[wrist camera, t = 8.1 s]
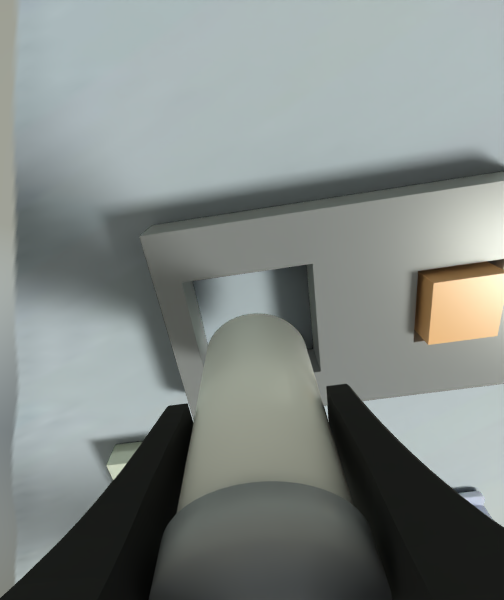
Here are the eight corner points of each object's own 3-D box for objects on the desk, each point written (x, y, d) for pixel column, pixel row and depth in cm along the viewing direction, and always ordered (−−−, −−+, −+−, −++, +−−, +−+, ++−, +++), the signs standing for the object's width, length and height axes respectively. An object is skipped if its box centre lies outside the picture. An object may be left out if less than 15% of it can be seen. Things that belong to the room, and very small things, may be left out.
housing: (514, 169, 14) (552, 173, 13) (481, 360, 19) (506, 383, 17) (152, 225, 15) (139, 236, 13) (199, 395, 19) (194, 421, 18)
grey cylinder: (307, 301, 12) (395, 526, 5) (315, 393, 14) (388, 655, 7) (190, 317, 13) (114, 556, 5) (213, 406, 14) (180, 675, 7)
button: (478, 257, 15) (509, 272, 13) (470, 314, 17) (497, 335, 15) (411, 266, 15) (433, 283, 14) (408, 323, 17) (428, 345, 15)
